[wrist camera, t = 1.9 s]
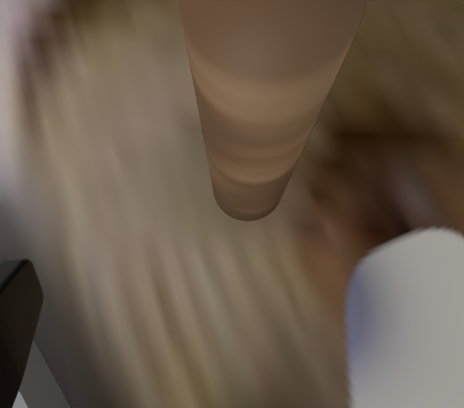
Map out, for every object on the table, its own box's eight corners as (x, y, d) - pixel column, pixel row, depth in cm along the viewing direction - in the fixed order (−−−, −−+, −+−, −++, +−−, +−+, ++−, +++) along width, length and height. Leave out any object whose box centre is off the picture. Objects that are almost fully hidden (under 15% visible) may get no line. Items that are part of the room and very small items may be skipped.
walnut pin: (295, 196, 20) (405, 11, 7) (238, 234, 19) (247, 110, 7) (256, 142, 20) (293, -117, 8) (200, 178, 20) (141, -33, 7)
